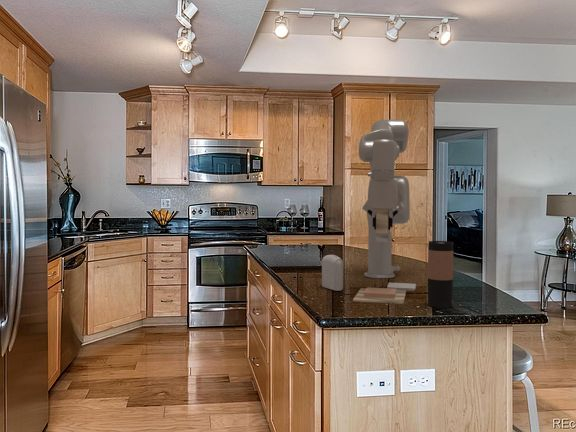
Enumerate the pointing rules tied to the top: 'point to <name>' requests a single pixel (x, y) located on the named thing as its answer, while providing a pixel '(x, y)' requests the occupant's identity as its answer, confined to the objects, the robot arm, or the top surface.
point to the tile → (380, 293)
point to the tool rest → (402, 286)
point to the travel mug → (440, 274)
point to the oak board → (398, 298)
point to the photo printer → (332, 272)
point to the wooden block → (382, 225)
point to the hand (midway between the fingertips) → (382, 228)
